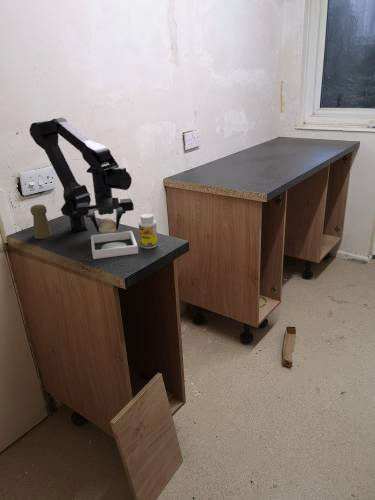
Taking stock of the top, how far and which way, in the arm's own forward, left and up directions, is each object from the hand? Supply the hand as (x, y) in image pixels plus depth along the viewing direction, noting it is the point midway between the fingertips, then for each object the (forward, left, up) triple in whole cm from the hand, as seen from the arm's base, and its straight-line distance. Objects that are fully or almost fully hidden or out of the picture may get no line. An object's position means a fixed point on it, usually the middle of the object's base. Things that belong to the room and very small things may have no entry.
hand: (107, 230), depth 137 cm
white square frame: (+12, +1, -2) cm, 12 cm away
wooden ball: (0, 0, -2) cm, 2 cm away
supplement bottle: (+14, +12, -2) cm, 19 cm away
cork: (-7, -22, -2) cm, 23 cm away
